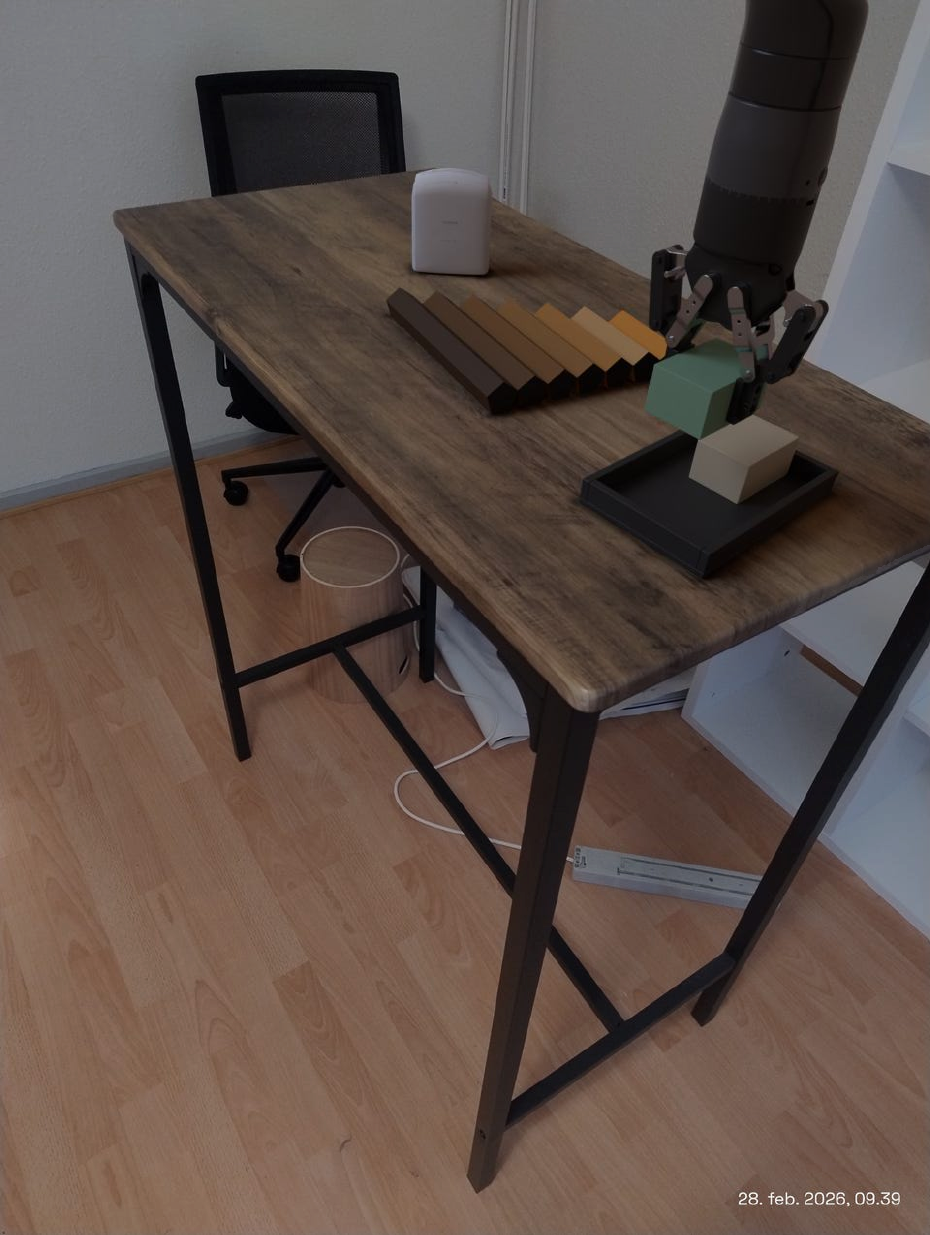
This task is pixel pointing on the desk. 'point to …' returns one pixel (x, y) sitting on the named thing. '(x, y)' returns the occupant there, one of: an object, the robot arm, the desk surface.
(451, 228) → the photo printer
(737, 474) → the beige pad
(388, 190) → the desk surface
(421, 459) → the desk surface
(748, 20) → the robot arm
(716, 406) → the sage pad
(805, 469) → the tray
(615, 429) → the desk surface
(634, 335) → the pan flute
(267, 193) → the desk surface
